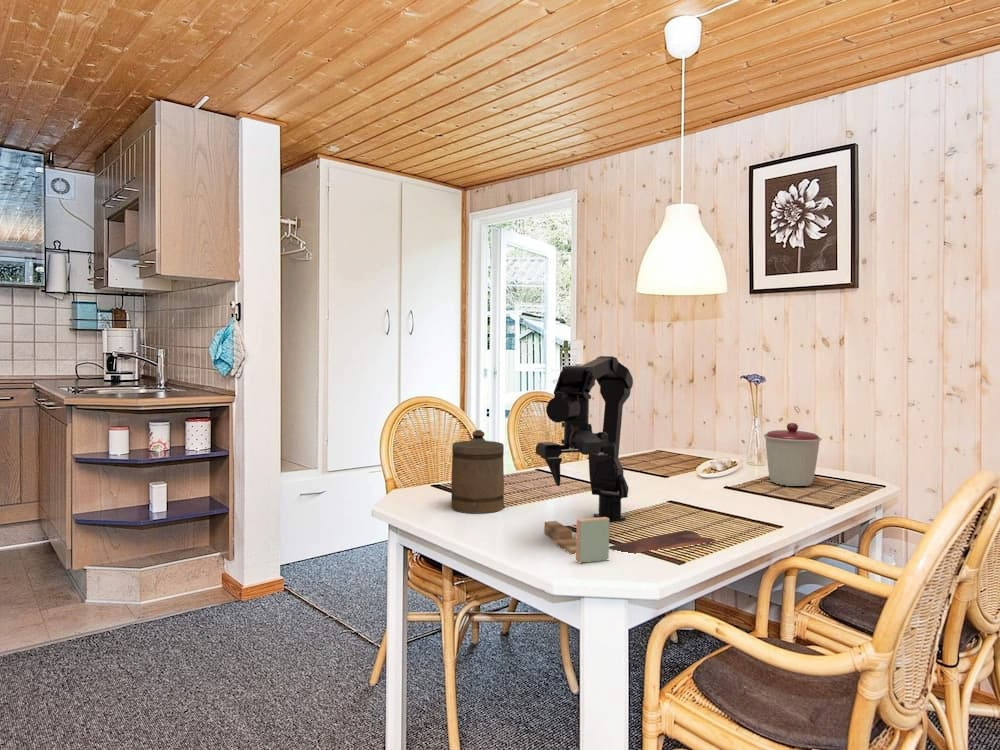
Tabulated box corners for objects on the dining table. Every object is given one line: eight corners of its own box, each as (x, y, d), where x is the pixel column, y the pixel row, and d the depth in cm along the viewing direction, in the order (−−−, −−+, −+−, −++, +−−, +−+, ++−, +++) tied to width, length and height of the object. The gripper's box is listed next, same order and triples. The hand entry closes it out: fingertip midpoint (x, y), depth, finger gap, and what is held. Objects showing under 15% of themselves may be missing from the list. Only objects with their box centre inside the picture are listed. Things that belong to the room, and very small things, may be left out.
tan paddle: (540, 534, 157) (540, 522, 157) (559, 532, 159) (559, 520, 159) (571, 555, 141) (571, 541, 141) (591, 553, 143) (592, 539, 143)
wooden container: (483, 499, 194) (484, 426, 193) (514, 509, 182) (515, 431, 181) (441, 505, 185) (442, 429, 184) (470, 516, 173) (471, 435, 172)
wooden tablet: (631, 554, 139) (603, 537, 148) (630, 564, 139) (602, 546, 148) (719, 539, 152) (688, 524, 160) (718, 548, 152) (687, 532, 161)
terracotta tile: (576, 561, 137) (576, 519, 137) (605, 558, 139) (606, 516, 139) (579, 563, 135) (580, 521, 135) (609, 560, 138) (609, 518, 137)
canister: (754, 478, 230) (756, 419, 229) (806, 479, 229) (807, 420, 228) (774, 489, 212) (775, 425, 211) (830, 490, 211) (832, 426, 210)
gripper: (556, 423, 142) (555, 494, 142) (629, 421, 149) (627, 488, 149) (535, 418, 152) (534, 484, 153) (603, 416, 159) (602, 479, 160)
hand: (575, 484), depth 153 cm, fingers open, 9 cm apart
